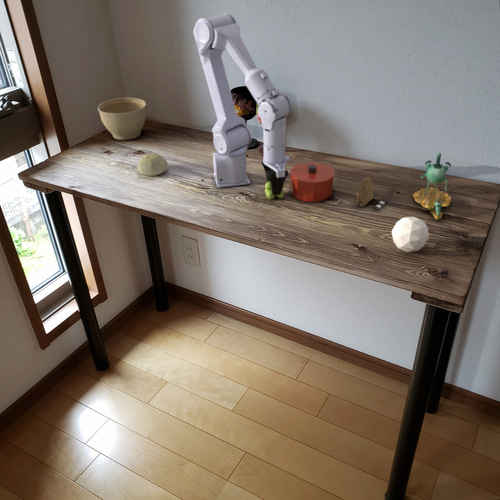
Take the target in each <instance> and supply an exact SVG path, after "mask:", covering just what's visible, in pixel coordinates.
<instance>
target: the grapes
mask: <svg viewBox="0 0 500 500" xmlns="http://www.w3.org/2000/svg"><path fill="white" fill-rule="evenodd" d="M264 188H265V189H264V193H265V196H266V198H267V199H269V200H274V198H277V199H282V198H284V197H285V195H286V192H285V190H284V188H285V183H284V184H283V188H282V192H281V194H280V195H273V193H272V190H271V183H270V182H267V181H266V183H265V184H264Z"/></svg>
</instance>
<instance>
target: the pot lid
mask: <svg viewBox="0 0 500 500" xmlns="http://www.w3.org/2000/svg"><path fill="white" fill-rule="evenodd" d="M335 174H336V172H335V170H334V169H333V167H332V166H329V165H327V164H324V163H319V162H304V163H300V164H296V165H294V166H293V167H292V168H291V169H290V170H289V175H290V178H291V177H292V178H293V179H294V180H296V181H298V182H302V183H307V184H319V183H325V182H328V181H330V180H331V179H333V180H334V178H335Z"/></svg>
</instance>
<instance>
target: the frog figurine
mask: <svg viewBox="0 0 500 500" xmlns="http://www.w3.org/2000/svg"><path fill="white" fill-rule="evenodd" d="M441 158H442V153H441V152H439V153H437V154H436V158H435V159H436V160H435V163H432V160H427V161H425V162H424V166H425V171H424V173H423V174H420V176H419V177H420V179H421V180H422V179H423V178H424V177H425V178H426V180H427V182H428V183H427V185H426V187H422V188H421V189H419V190H417V191H415V192H413V193H412V197H413V199H414V201H415V202H416V203H418V204H420V205H421V207H423V208H425V209H428V210H431V211H430V214H432V216H433V217H434V218H435V220H440V219H442V218H443V217H442V215H443V214H444V213H443V212H442V211H441V210H442V208H444V207H445V208H447V207H449V206H450V204H451V200H452V196H450V195H449V193H447V190H448V189H447V185H448V184H447V183H448V180H447V172H448V171H449V168H450V167H452V164H451V163H450V162H449V161H446V162H445V163H444V164H445V165H444V164H443V163H441ZM444 181H445V188H444V191H443V190H440V189H439V188H438V185H440V184H442V183H443V182H444ZM430 184H432V185H434V186H430Z"/></svg>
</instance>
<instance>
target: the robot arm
mask: <svg viewBox="0 0 500 500" xmlns="http://www.w3.org/2000/svg"><path fill="white" fill-rule="evenodd" d="M192 33H193V36H194V40H195V44H196V48H197V51H198V55H199V59H200V62H201V66H202V70H203V72H204V76H205V80H206V83H207V88H208V91H209V95H210V98H211V101H212V105H213V108H214V112H215V115H216V119H217V120H216V122H215V124H214V126H213V127H212V129H211V133H212V136H213V142H212V143H213V146H214V149H215V150H216V152H213V153H212V162H213V163H212V164H213V178H214V180H215V184H216V187H217V188H227V187H228V188H229V187H235V186H236V187H237V186H246V185H250V184H251V180H250V178H249V176H248V170H247V150H248V146H249V145H250V144H251V142H252V133H251V130H250V128H249V127H248V125H247V123H246V119H245V118H243V117H242V116H240V115H238V114H237V110H236V105H235V104H234V99H233V95H232V92H231V88H230V85H229V81H228V77H227V73H226V70H225V66H224V62H223V59H222V55H223V53H224V51H225V52H227V53H228V54H229V56H230V58H231V59H232V60H233V61H234V62H235V64H236V65H237V66H238V68H239V70H241V72H242V73H243V75H244V85H245V86H246V88H247V90H248V91H249V92H250V94H251V96H252V97H253V99H254V101H255V102H256V105H258V108H257V114H258V116H259V119H260V122H261V127H262V136H263V137H262V140H263V141H262V143H263V144H262V145H263V158H262V160H261V161H260V164H261V165H262V167H263V170H264V173H265V177H266V183H267V182H270V183H271V190H272V193H273V195H275V196H276V195H280V194H281V192H282V188H283V184H284V185H285V181H286V179H287V178H288V176H289V170H287V169H285V167H286V164H287V162H291V158H290V156H288V155H286V152H287V151H286V144H287V143H286V140H287V132H286V131H287V116H289V114H290V113H291V110H292V104H291V102H290V99H289V97H288V96H287V94H285V93H283V92H281V91H280V90H279V89H277V88H276V87H275V85H274V83H273V82H272V80H271V79H270V77H269V74H268V73H267V72H266V70H264V69H263V68H259V67H258V66H257V65H256V63H255V62H254V59H253V58H252V56H251V54H250V52H249V50H248V49H247V47H246V45H245V42H244V41H243V39H242V37H241V26H240V25H239V23H238V22H237V20H236V18H235V16H234V15H233V14H232V13H229V12H225V13H223V14H218V15H213V16H209V17H201V18H199V19H197V21H196V23H195V26H194V28H193V31H192ZM283 189H284V188H283Z"/></svg>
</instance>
